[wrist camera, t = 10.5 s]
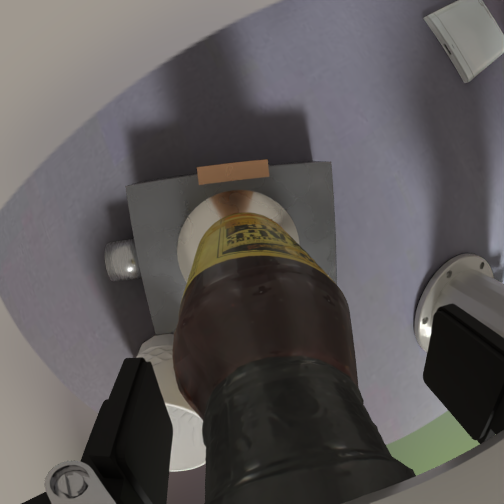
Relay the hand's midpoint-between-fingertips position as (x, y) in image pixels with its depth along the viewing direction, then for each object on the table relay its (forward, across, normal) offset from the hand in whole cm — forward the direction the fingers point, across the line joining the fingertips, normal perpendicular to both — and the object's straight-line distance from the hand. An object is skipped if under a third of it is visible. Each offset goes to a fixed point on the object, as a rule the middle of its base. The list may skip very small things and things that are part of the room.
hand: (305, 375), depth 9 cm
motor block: (+18, +3, -1) cm, 18 cm away
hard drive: (+19, -27, -21) cm, 39 cm away
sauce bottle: (+14, +1, 0) cm, 14 cm away
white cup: (+18, +8, +10) cm, 22 cm away
